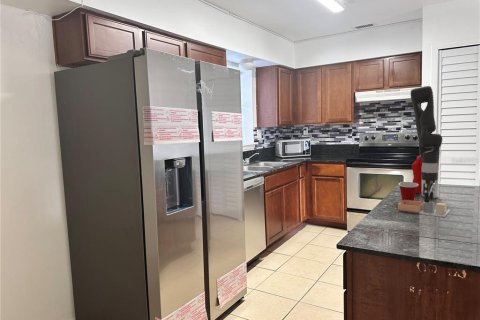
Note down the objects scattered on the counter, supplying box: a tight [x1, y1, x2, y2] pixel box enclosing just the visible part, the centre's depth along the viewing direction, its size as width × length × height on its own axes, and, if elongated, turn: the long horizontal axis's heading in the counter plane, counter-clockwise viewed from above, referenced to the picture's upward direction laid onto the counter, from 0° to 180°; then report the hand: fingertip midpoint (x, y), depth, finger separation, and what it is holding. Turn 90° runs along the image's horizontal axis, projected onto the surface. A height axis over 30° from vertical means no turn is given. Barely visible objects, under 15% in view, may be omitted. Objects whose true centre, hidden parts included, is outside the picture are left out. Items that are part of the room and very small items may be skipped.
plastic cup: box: [398, 181, 418, 201], centre depth 198 cm, size 11×11×12 cm
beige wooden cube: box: [435, 202, 448, 215], centre depth 174 cm, size 4×4×5 cm
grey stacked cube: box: [424, 201, 436, 213], centre depth 177 cm, size 4×4×5 cm
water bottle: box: [410, 155, 423, 194], centre depth 225 cm, size 9×11×25 cm
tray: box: [419, 207, 451, 218], centre depth 176 cm, size 14×12×1 cm
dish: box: [397, 200, 425, 214], centre depth 183 cm, size 12×11×4 cm
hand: (428, 201), depth 177 cm, fingers open, 8 cm apart
